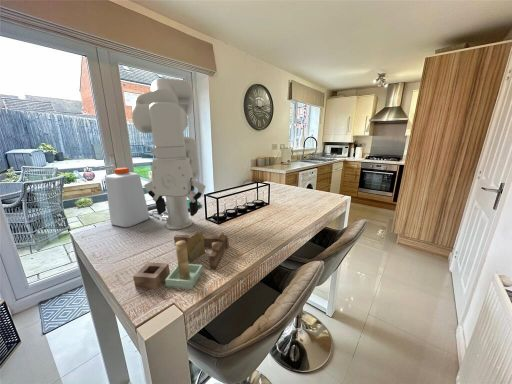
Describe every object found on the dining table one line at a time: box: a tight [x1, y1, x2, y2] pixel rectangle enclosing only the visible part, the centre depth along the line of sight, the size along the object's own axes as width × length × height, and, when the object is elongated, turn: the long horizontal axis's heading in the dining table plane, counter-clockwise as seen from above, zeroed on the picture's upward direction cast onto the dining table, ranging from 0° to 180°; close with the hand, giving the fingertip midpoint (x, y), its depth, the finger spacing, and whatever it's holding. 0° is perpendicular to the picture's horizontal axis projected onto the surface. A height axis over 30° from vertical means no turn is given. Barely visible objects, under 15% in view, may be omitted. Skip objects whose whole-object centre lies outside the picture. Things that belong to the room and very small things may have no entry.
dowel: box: [174, 240, 190, 280], centre depth 64 cm, size 3×3×12 cm
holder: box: [133, 261, 171, 291], centre depth 65 cm, size 7×7×4 cm
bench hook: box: [173, 232, 230, 271], centre depth 78 cm, size 22×16×7 cm
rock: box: [186, 231, 206, 264], centre depth 76 cm, size 11×9×10 cm
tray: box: [164, 263, 204, 290], centre depth 65 cm, size 8×8×2 cm
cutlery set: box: [149, 199, 202, 220], centre depth 128 cm, size 20×30×2 cm, turn 138°
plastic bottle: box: [104, 167, 150, 228], centre depth 108 cm, size 15×15×28 cm
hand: (177, 213), depth 61 cm, fingers open, 9 cm apart
